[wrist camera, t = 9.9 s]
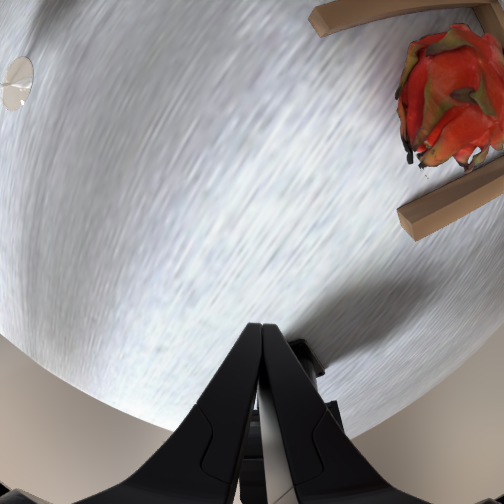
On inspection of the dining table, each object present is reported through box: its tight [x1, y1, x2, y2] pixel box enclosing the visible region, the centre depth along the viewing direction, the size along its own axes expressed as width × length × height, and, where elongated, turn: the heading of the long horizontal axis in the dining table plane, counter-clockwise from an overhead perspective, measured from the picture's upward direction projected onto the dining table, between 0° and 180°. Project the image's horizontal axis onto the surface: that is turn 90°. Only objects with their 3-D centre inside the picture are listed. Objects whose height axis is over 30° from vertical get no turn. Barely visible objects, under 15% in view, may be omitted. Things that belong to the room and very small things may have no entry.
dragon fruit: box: [395, 23, 504, 177], centre depth 11 cm, size 8×8×12 cm
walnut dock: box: [308, 0, 504, 242], centre depth 12 cm, size 16×16×2 cm
